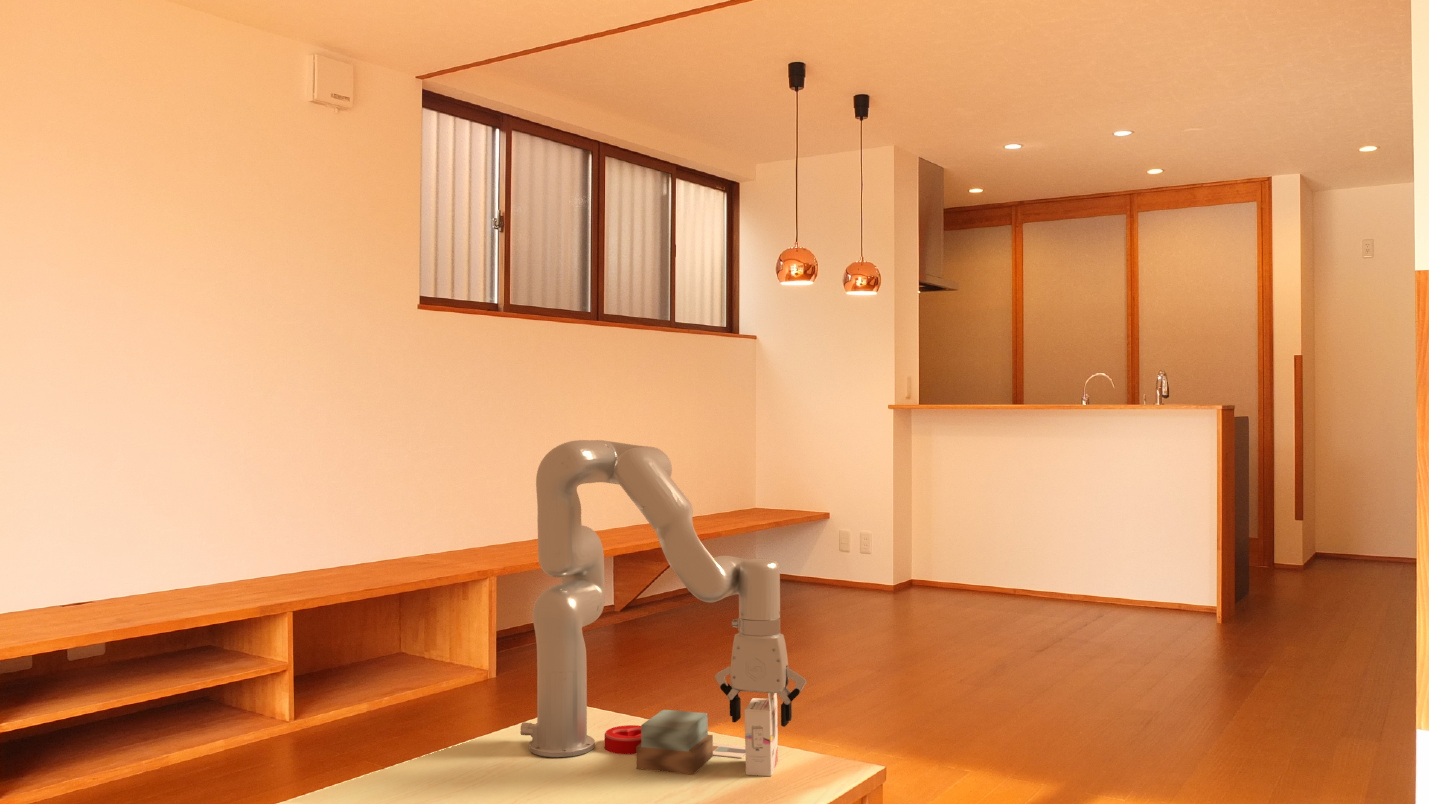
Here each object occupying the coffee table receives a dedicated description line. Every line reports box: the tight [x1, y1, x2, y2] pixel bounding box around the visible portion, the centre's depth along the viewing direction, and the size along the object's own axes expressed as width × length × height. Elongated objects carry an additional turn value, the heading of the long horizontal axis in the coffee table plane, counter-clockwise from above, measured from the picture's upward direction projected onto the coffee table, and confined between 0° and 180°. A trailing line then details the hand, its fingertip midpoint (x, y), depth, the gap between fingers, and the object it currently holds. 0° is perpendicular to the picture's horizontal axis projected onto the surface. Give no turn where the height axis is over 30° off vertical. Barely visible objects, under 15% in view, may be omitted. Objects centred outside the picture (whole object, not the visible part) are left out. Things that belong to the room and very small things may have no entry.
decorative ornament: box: [604, 724, 641, 755], centre depth 202 cm, size 10×10×3 cm
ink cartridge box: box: [743, 692, 779, 777], centre depth 189 cm, size 9×5×15 cm, turn 168°
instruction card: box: [713, 742, 746, 759], centre depth 199 cm, size 10×7×1 cm
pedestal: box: [635, 709, 714, 776], centre depth 192 cm, size 11×11×8 cm
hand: (760, 722), depth 189 cm, fingers open, 8 cm apart
